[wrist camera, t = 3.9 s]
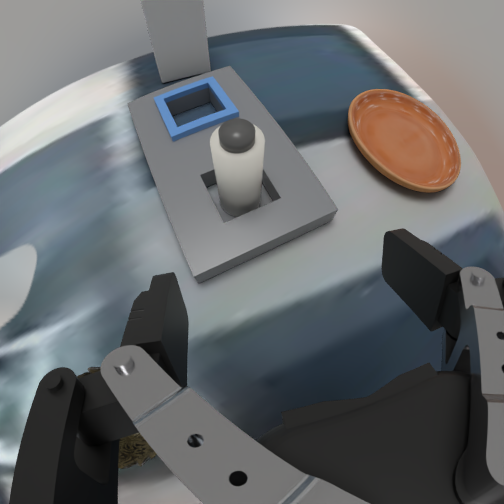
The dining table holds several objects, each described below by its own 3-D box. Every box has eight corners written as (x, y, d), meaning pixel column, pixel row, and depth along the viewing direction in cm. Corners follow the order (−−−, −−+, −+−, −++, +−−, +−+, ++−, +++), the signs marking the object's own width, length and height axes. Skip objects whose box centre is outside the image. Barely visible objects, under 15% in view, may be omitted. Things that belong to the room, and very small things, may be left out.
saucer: (427, 226, 28) (441, 215, 26) (318, 140, 32) (323, 123, 29) (461, 154, 32) (471, 142, 30) (375, 89, 36) (381, 74, 33)
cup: (204, 396, 23) (184, 416, 15) (161, 453, 21) (130, 487, 13) (137, 346, 24) (95, 343, 17) (99, 403, 22) (51, 416, 15)
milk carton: (162, 84, 35) (133, -31, 17) (160, 61, 37) (136, -40, 19) (211, 73, 36) (199, -45, 18) (203, 50, 38) (192, -52, 20)
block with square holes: (198, 283, 26) (192, 274, 23) (133, 116, 33) (125, 99, 30) (331, 220, 28) (340, 205, 25) (230, 79, 35) (229, 61, 32)
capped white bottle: (230, 223, 28) (221, 160, 19) (213, 191, 29) (200, 123, 20) (267, 207, 29) (275, 140, 19) (249, 176, 30) (249, 106, 20)
